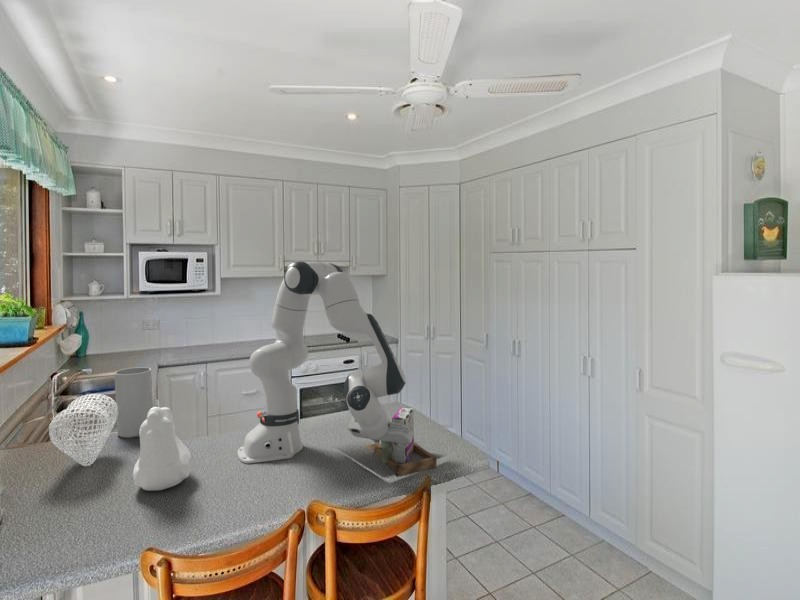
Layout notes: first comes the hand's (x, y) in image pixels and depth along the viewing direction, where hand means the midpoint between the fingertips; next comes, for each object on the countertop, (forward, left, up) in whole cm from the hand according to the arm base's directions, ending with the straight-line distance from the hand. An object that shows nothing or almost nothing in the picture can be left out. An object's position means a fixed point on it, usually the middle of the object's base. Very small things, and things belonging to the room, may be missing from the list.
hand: (387, 442), depth 150 cm
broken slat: (+6, +13, -8) cm, 17 cm away
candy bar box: (+7, +2, -8) cm, 11 cm away
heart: (-88, +48, -8) cm, 100 cm away
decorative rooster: (-64, +24, -8) cm, 69 cm away
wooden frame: (+6, 0, -8) cm, 10 cm away
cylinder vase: (-75, +75, -8) cm, 106 cm away
